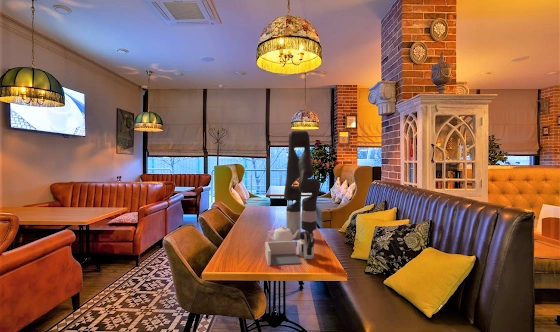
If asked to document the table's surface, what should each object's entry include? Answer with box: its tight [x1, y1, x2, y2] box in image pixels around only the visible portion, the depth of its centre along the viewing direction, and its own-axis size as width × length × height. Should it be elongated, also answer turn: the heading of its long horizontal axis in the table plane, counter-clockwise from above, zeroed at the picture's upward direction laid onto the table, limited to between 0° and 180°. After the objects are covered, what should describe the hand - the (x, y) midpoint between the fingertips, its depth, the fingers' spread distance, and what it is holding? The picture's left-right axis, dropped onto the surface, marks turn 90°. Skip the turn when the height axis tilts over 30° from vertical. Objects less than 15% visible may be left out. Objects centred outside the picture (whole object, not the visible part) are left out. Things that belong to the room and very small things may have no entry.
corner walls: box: [264, 240, 297, 267], centre depth 149 cm, size 15×16×7 cm
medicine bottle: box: [296, 230, 305, 258], centre depth 156 cm, size 7×7×12 cm
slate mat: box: [271, 253, 302, 266], centre depth 148 cm, size 14×15×1 cm
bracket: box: [301, 242, 315, 260], centre depth 147 cm, size 8×5×8 cm, turn 8°
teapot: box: [266, 225, 300, 242], centre depth 179 cm, size 20×12×10 cm, turn 89°
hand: (308, 254), depth 144 cm, fingers closed on bracket, 1 cm apart
